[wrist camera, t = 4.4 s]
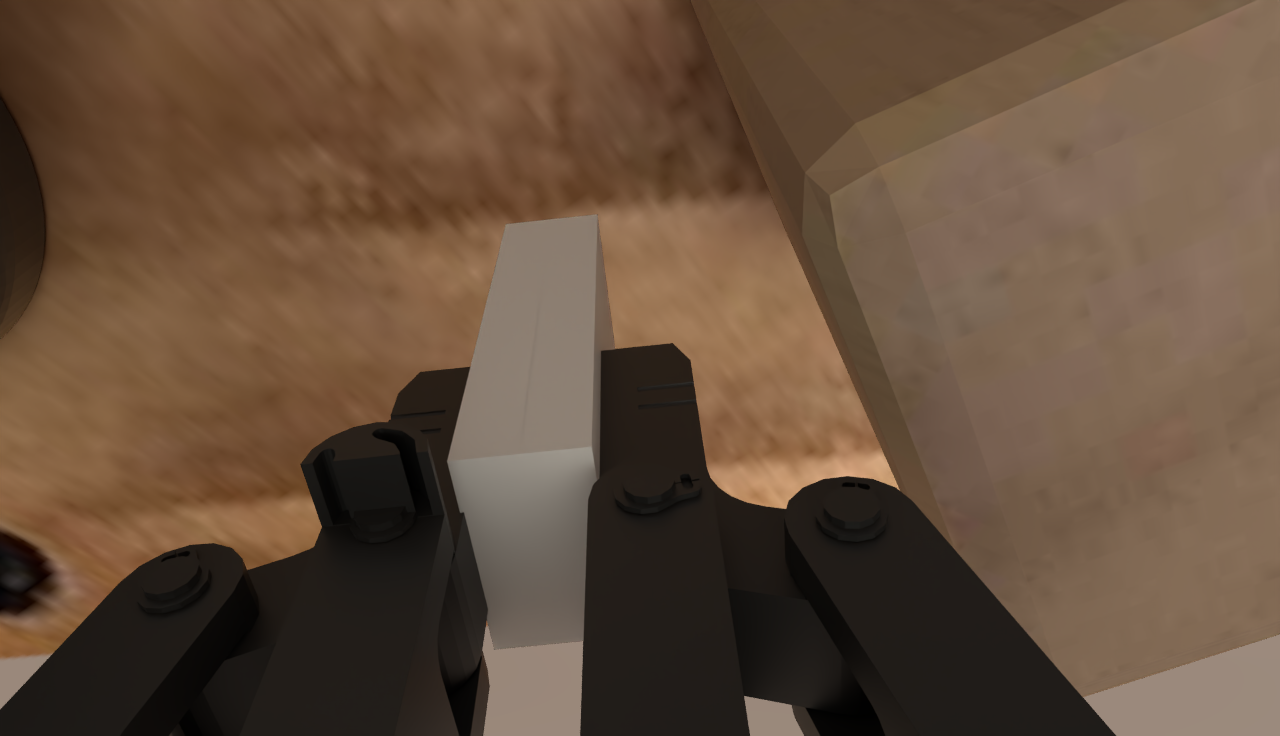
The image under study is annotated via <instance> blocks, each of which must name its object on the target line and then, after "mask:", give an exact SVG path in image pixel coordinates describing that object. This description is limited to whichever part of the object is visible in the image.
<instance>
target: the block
mask: <svg viewBox="0 0 1280 736" xmlns="http://www.w3.org/2000/svg"><path fill="white" fill-rule="evenodd" d="M690 1H691V4H692V6H693V8H694V11H695V13H696V16H697V18H698V20H699V23H700V25H701V28H702V30H703V32H704V35H705V37H706V40H707V42H708V45H709V47H710V49H711V52H712V54H713V57H714V59H715V61H716V64H717V66H718V69H719V71H720V73H721V76H722V78H723V81H724V83H725V85H726V88H727V90H728V93H729V95H730V98H731V100H732V102H733V105H734V107H735V110H736V112H737V114H738V117H739V119H740V122H741V124H742V126H743V129H744V131H745V134H746V136H747V138H748V141H749V143H750V146H751V148H752V151H753V153H754V155H755V158H756V160H757V163H758V165H759V167H760V170H761V172H762V175H763V177H764V179H765V182H766V184H767V187H768V189H769V191H770V194H771V196H772V199H773V201H774V203H775V206H776V208H777V211H778V213H779V216H780V218H781V220H782V223H783V225H784V228H785V230H786V232H787V234H788V237H789V239H790V241H791V244H792V246H793V248H794V250H795V253H796V255H797V257H798V259H799V262H800V264H801V266H802V269H803V271H804V273H805V275H806V278H807V280H808V282H809V284H810V287H811V289H812V291H813V294H814V296H815V298H816V300H817V303H818V305H819V307H820V309H821V312H822V314H823V316H824V318H825V321H826V323H827V325H828V328H829V330H830V332H831V334H832V337H833V339H834V341H835V343H836V346H837V348H838V350H839V353H840V355H841V357H842V359H843V362H844V364H845V366H846V368H847V371H848V373H849V375H850V378H851V380H852V382H853V384H854V387H855V389H856V391H857V393H858V396H859V398H860V400H861V403H862V405H863V407H864V409H865V412H866V414H867V416H868V418H869V421H870V423H871V425H872V428H873V430H874V432H875V434H876V437H877V439H878V441H879V443H880V446H881V448H882V450H883V452H884V455H885V457H886V459H887V462H888V464H889V466H890V468H891V471H892V473H893V475H894V477H895V480H896V482H897V484H898V487H899V489H900V491H901V492H902V493H903V494H904V495H906V496H907V497H908V498H910V499H911V500H912V501H913V502H914V503H915V504H916V505H917V507H918V508H919V509H920V510H921V511H922V512H923V513H924V515H925V516H926V517H927V518H928V519H929V520H930V522H931V523H932V524H933V525H934V526H935V527H936V528H937V530H938V531H939V532H940V533H941V534H942V535H943V537H944V538H945V539H946V540H947V541H948V542H949V543H950V545H951V546H952V547H953V548H954V549H955V550H956V552H957V553H958V554H959V555H960V556H961V557H962V559H963V560H964V561H965V562H966V563H967V564H968V565H969V567H970V568H971V569H972V570H973V571H974V572H975V574H976V575H977V576H978V577H979V578H980V579H981V580H982V582H983V583H984V584H985V585H986V586H987V587H988V589H989V590H990V591H991V592H992V593H993V594H994V595H995V597H996V598H997V599H998V600H999V601H1000V602H1001V604H1002V605H1003V606H1004V607H1005V608H1006V609H1007V610H1008V612H1009V613H1010V614H1011V615H1012V616H1013V617H1014V619H1015V620H1016V621H1017V622H1018V623H1019V624H1020V625H1021V627H1022V628H1023V629H1024V630H1025V631H1026V632H1027V634H1028V635H1029V636H1030V637H1031V638H1032V639H1033V640H1034V642H1035V643H1036V644H1037V645H1038V646H1039V647H1040V649H1041V650H1042V651H1043V652H1044V653H1045V654H1046V655H1047V657H1048V658H1049V659H1050V660H1051V661H1052V662H1053V664H1054V665H1055V666H1056V667H1057V668H1058V669H1059V670H1060V672H1061V673H1062V674H1063V675H1064V676H1065V677H1066V679H1067V680H1068V681H1069V682H1070V683H1071V684H1072V685H1073V687H1074V688H1075V689H1076V690H1077V691H1078V692H1079V694H1080V695H1081V696H1082V697H1085V696H1088V695H1091V694H1094V693H1098V692H1101V691H1104V690H1107V689H1110V688H1113V687H1116V686H1120V685H1122V684H1126V683H1129V682H1132V681H1135V680H1138V679H1142V678H1145V677H1147V676H1151V675H1154V674H1157V673H1160V672H1163V671H1167V670H1170V669H1172V668H1176V667H1179V666H1182V665H1185V664H1189V663H1191V662H1195V661H1198V660H1201V659H1204V658H1207V657H1210V656H1214V655H1216V654H1220V653H1223V652H1226V651H1229V650H1232V649H1235V648H1238V647H1242V646H1245V645H1248V644H1251V643H1254V642H1257V641H1260V640H1263V639H1267V638H1270V637H1273V636H1276V635H1279V634H1280V0H690Z"/></svg>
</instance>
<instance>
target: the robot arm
mask: <svg viewBox="0 0 1280 736" xmlns="http://www.w3.org/2000/svg"><path fill="white" fill-rule="evenodd" d="M44 244H45V224H44V212H43V205H42V199H41V194H40V190H39V185H38V181H37V177H36V174H35V171H34V168H33V165H32V162H31V159H30V156H29V154H28V151H27V149H26V146H25V144H24V142H23V139H22V137H21V135H20V133H19V131H18V129H17V127H16V125H15V123H14V121H13V119H12V118H11V116H10V114H9V112H8V110H7V109H6V107H5V105H4V103H3V102H2V100H1V99H0V339H1V338H2V337H3V336H4V335H5V334H6V333H7V332H8V331H9V330H10V329H11V328H12V327H13V326H14V324H15V323H16V322H17V321H18V319H19V318H20V316H21V315H22V313H23V312H24V311H25V309H26V307H27V305H28V303H29V301H30V300H31V297H32V295H33V293H34V290H35V288H36V285H37V282H38V279H39V275H40V272H41V267H42V261H43V255H44ZM300 465H301V468H302V470H303V473H304V476H305V479H306V482H307V485H308V488H309V491H310V494H311V496H312V499H313V502H314V505H315V508H316V511H317V514H318V517H319V520H320V522H321V525H322V529H321V531H320V534H319V536H318V539H317V541H316V544H315V546H314V547H313V548H311V549H309V550H307V551H304V552H301V553H299V554H296V555H294V556H291V557H288V558H285V559H282V560H279V561H275V562H272V563H269V564H266V565H263V566H259V567H256V568H253V569H250V570H247V569H246V566H245V564H244V562H243V559H242V558H241V557H240V556H239V555H238V554H237V553H236V552H235V551H234V550H233V549H232V548H230V547H226V546H222V545H218V544H214V543H212V544H198V545H189V546H186V547H182V548H178V549H176V550H172V551H169V552H166V553H164V554H162V555H160V556H158V557H156V558H154V559H152V560H150V561H148V562H147V563H145V564H143V565H141V566H139V567H138V568H137V569H136V570H135V571H133V572H132V573H131V574H130V575H129V576H127V577H126V578H125V579H124V580H122V581H121V582H120V583H119V584H118V585H117V586H116V587H115V588H114V589H113V591H112V592H111V593H110V594H109V595H108V596H107V597H106V598H105V599H104V600H103V601H102V602H101V603H100V604H99V605H98V606H97V607H96V609H95V610H94V611H93V612H92V613H91V614H90V615H89V616H88V617H87V618H86V619H85V620H84V621H83V622H82V623H81V624H80V626H79V627H78V628H77V629H76V630H75V631H74V632H73V633H72V634H71V635H70V636H69V637H68V638H67V639H66V640H65V641H64V643H63V644H62V645H61V646H60V647H59V648H58V649H57V650H56V651H55V652H54V653H53V654H52V655H51V656H50V657H49V658H48V659H47V661H46V662H45V663H44V664H43V665H42V666H41V667H40V668H39V669H38V670H37V671H36V672H35V673H34V674H33V675H32V676H31V678H30V679H29V680H28V681H27V682H26V683H25V684H24V685H23V686H22V687H21V688H20V689H19V690H18V692H16V693H15V695H14V696H13V697H12V698H11V699H10V700H9V701H8V702H7V703H6V704H5V705H4V706H3V707H2V708H1V709H0V736H483V732H484V724H485V717H486V710H487V702H488V694H489V687H490V686H489V678H488V670H487V666H486V662H485V659H484V655H483V651H482V647H483V640H484V634H485V627H486V621H487V622H488V626H489V630H490V634H491V638H492V642H493V646H494V649H506V648H515V647H525V646H537V645H547V644H556V643H557V644H558V643H568V642H579V641H583V670H582V701H581V730H580V736H750V733H749V727H748V720H747V713H746V706H745V700H744V696H748V697H753V698H759V699H764V700H770V701H774V702H780V703H785V704H790V705H792V708H793V713H794V716H795V719H796V721H797V722H798V724H799V726H800V728H801V730H802V732H803V734H804V736H1116V735H1115V734H1114V733H1113V732H1112V730H1111V729H1110V728H1109V727H1108V726H1107V725H1106V724H1105V722H1104V721H1103V720H1102V719H1101V718H1100V717H1099V715H1097V713H1096V712H1095V711H1094V710H1093V709H1092V707H1091V706H1090V705H1089V704H1088V703H1087V702H1086V700H1085V699H1084V698H1083V697H1082V696H1081V695H1080V694H1079V692H1078V691H1077V690H1076V689H1075V688H1074V687H1073V685H1072V684H1071V683H1070V682H1069V681H1068V680H1067V679H1066V677H1065V676H1064V675H1063V674H1062V673H1061V672H1060V670H1059V669H1058V668H1057V667H1056V666H1055V665H1054V664H1053V662H1052V661H1051V660H1050V659H1049V658H1048V657H1047V655H1046V654H1045V653H1044V652H1043V651H1042V650H1041V649H1040V647H1039V646H1038V645H1037V644H1036V643H1035V642H1034V640H1033V639H1032V638H1031V637H1030V636H1029V635H1028V634H1027V632H1026V631H1025V630H1024V629H1023V628H1022V627H1021V625H1020V624H1019V623H1018V622H1017V621H1016V620H1015V619H1014V617H1013V616H1012V615H1011V614H1010V613H1009V612H1008V610H1007V609H1006V608H1005V607H1004V606H1003V605H1002V604H1001V602H1000V601H999V600H998V599H997V598H996V597H995V595H994V594H993V593H992V592H991V591H990V590H989V589H988V587H987V586H986V585H985V584H984V583H983V582H982V580H981V579H980V578H979V577H978V576H977V575H976V574H975V572H974V571H973V570H972V569H971V568H970V567H969V565H968V564H967V563H966V562H965V561H964V560H963V559H962V557H961V556H960V555H959V554H958V553H957V552H956V550H955V549H954V548H953V547H952V546H951V545H950V543H949V542H948V541H947V540H946V539H945V538H944V537H943V535H942V534H941V533H940V532H939V531H938V530H937V528H936V527H935V526H934V525H933V524H932V523H931V522H930V520H929V519H928V518H927V517H926V516H925V515H924V513H923V512H922V511H921V510H920V509H919V508H918V507H917V505H916V504H915V503H914V502H913V501H912V500H911V499H910V498H908V497H907V496H906V495H904V494H903V493H902V492H901V491H899V490H898V489H897V488H895V487H893V486H890V485H887V484H885V483H882V482H879V481H877V480H874V479H867V478H858V477H849V476H846V477H838V478H830V479H823V480H820V481H818V482H816V483H813V484H811V485H808V486H806V487H804V488H802V489H801V490H800V491H799V492H798V493H797V494H796V495H795V496H794V497H793V498H791V499H790V500H789V502H788V505H787V508H786V509H781V508H773V507H765V506H760V505H755V504H751V503H746V502H744V501H741V500H739V499H736V498H734V497H731V496H730V495H728V494H727V493H725V492H724V491H723V490H721V489H720V488H718V486H717V485H716V484H715V483H714V482H713V481H712V479H711V478H710V475H709V473H708V470H707V467H706V460H705V454H704V447H703V441H702V434H701V427H700V421H699V414H698V408H697V402H696V394H695V388H694V381H693V375H692V368H691V361H690V360H689V359H688V358H687V357H686V356H685V355H684V354H683V353H682V352H681V351H680V350H679V349H678V348H677V347H676V346H675V345H674V344H673V343H671V344H661V345H651V346H642V347H632V348H622V349H615V344H614V336H613V329H612V321H611V313H610V306H609V298H608V291H607V283H606V275H605V268H604V260H603V253H602V245H601V238H600V230H599V222H598V215H597V214H596V215H586V216H577V217H568V218H558V219H549V220H540V221H530V222H521V223H512V224H506V226H505V230H504V234H503V238H502V242H501V246H500V250H499V254H498V258H497V262H496V266H495V270H494V274H493V278H492V282H491V286H490V290H489V294H488V298H487V302H486V306H485V310H484V314H483V318H482V322H481V326H480V330H479V335H478V339H477V343H476V347H475V351H474V355H473V359H472V363H471V367H465V368H455V369H445V370H436V371H426V372H420V373H419V374H418V375H417V376H416V377H415V378H414V379H413V380H412V381H411V382H410V383H409V384H408V385H407V386H406V387H405V388H404V389H402V390H401V391H400V392H399V394H398V396H397V399H396V402H395V405H394V408H393V410H392V413H391V420H389V421H388V422H377V423H372V424H367V425H362V426H357V427H353V428H350V429H348V430H346V431H343V432H341V433H338V434H336V435H334V436H331V437H329V438H328V439H327V440H325V441H324V442H322V443H321V444H319V445H318V446H317V447H315V448H314V449H312V450H311V451H310V453H309V454H308V455H307V457H306V458H305V459H304V461H303V462H302V463H301V464H300Z"/></svg>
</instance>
